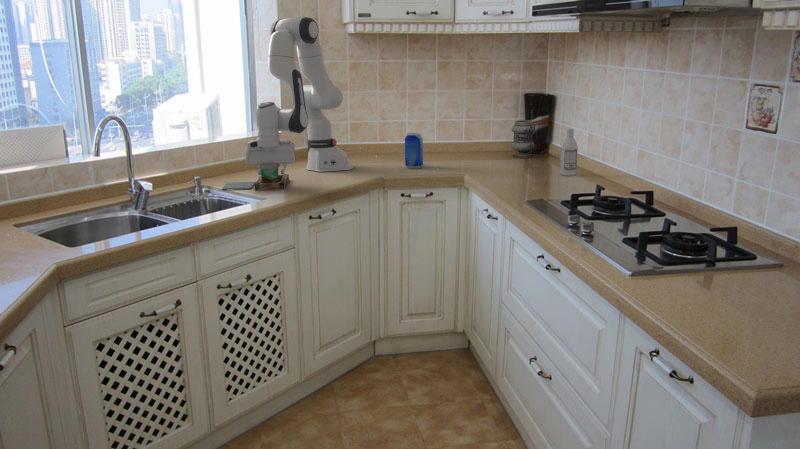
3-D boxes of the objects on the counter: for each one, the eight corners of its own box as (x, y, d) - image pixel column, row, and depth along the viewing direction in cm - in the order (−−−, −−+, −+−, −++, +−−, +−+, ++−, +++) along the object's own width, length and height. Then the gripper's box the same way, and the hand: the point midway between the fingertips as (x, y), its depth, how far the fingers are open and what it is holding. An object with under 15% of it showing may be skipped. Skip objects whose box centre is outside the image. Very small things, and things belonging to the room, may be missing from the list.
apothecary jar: (512, 153, 333) (513, 119, 328) (536, 154, 329) (537, 119, 324) (508, 158, 323) (509, 122, 317) (532, 159, 319) (534, 122, 314)
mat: (255, 182, 279) (255, 181, 278) (250, 189, 267) (250, 187, 267) (227, 183, 278) (227, 182, 278) (221, 190, 266) (221, 188, 266)
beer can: (402, 168, 302) (401, 134, 298) (409, 165, 310) (408, 132, 305) (419, 169, 299) (418, 135, 295) (425, 166, 307) (425, 132, 302)
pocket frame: (288, 179, 283) (288, 174, 283) (284, 189, 266) (283, 183, 265) (261, 180, 283) (261, 175, 282) (254, 190, 265) (254, 184, 264)
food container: (275, 188, 268) (273, 164, 265) (261, 188, 269) (259, 164, 266) (285, 181, 280) (283, 159, 277) (271, 181, 281) (269, 159, 278)
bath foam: (579, 175, 281) (582, 129, 275) (566, 176, 278) (569, 130, 272) (568, 172, 287) (571, 127, 281) (556, 174, 284) (558, 128, 278)
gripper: (294, 139, 273) (296, 171, 277) (246, 141, 272) (248, 173, 275) (293, 142, 267) (295, 174, 270) (243, 143, 265) (246, 176, 269)
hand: (271, 174), depth 273 cm, fingers open, 8 cm apart
